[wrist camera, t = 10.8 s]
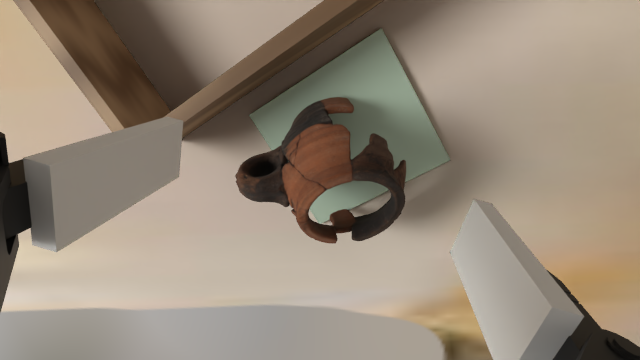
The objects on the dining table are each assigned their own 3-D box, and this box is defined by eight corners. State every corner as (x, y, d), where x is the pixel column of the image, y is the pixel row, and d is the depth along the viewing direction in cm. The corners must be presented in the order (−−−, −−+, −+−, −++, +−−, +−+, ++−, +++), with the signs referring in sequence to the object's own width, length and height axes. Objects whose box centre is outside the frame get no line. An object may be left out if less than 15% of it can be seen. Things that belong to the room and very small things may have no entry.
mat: (250, 114, 27) (249, 115, 27) (381, 28, 24) (381, 28, 23) (320, 222, 30) (319, 224, 29) (449, 158, 26) (450, 159, 26)
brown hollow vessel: (385, 77, 24) (424, 147, 19) (384, 170, 31) (412, 243, 25) (224, 105, 24) (212, 184, 19) (257, 192, 31) (256, 271, 25)
